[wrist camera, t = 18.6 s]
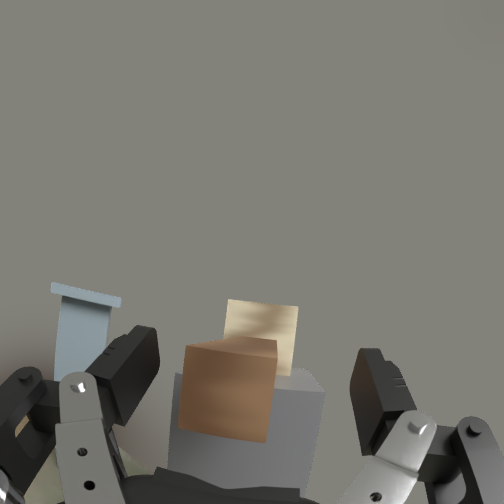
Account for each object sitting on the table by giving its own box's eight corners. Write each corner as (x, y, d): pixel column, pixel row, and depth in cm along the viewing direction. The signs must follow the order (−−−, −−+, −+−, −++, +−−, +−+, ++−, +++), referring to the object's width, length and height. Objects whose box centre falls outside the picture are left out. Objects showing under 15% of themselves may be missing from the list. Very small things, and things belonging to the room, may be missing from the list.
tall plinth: (47, 472, 28) (52, 281, 36) (57, 444, 39) (65, 286, 46) (110, 485, 32) (121, 297, 40) (109, 454, 43) (121, 299, 51)
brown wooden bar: (137, 416, 9) (158, 252, 10) (230, 360, 30) (237, 304, 31) (310, 446, 8) (333, 270, 10) (287, 367, 29) (294, 311, 31)
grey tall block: (266, 609, 11) (325, 392, 18) (167, 593, 12) (175, 372, 19) (270, 551, 23) (306, 369, 29) (194, 539, 24) (212, 357, 30)
